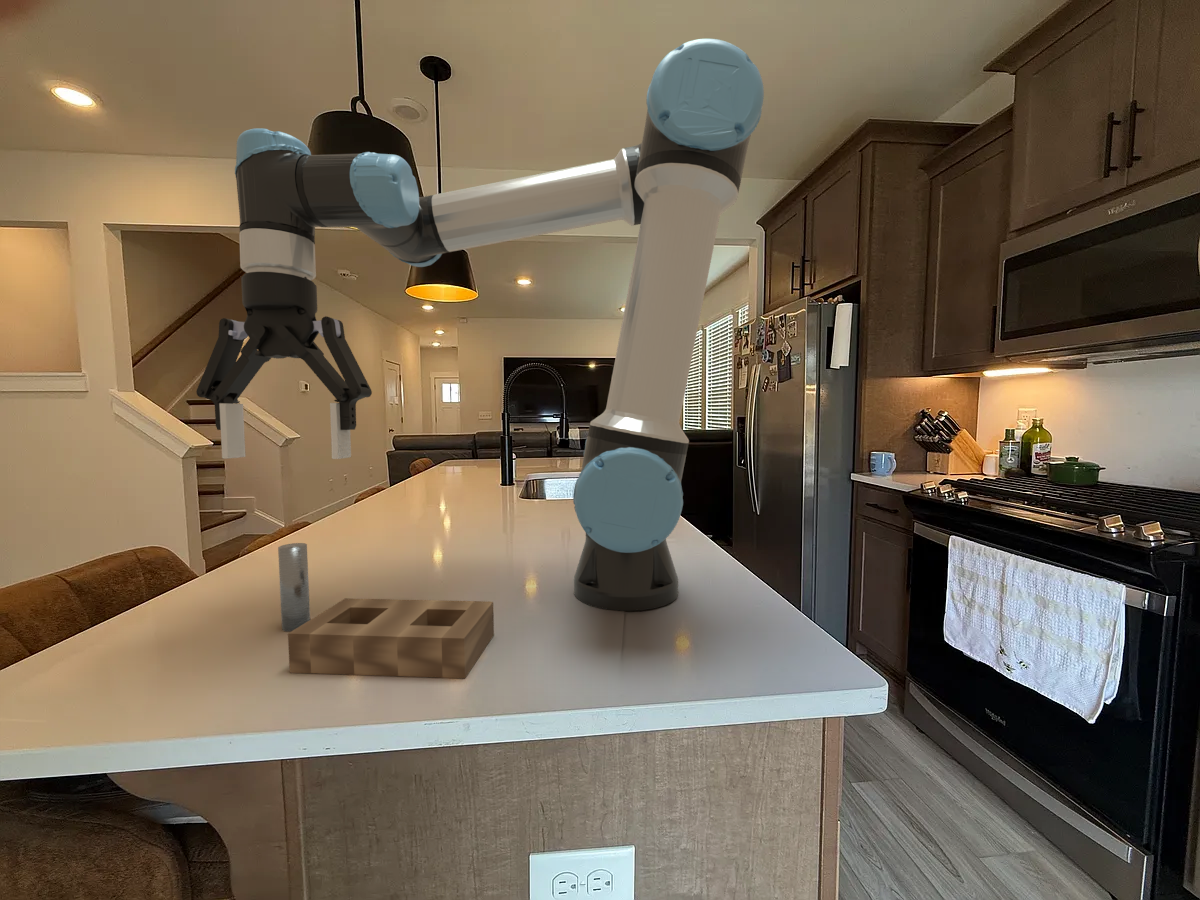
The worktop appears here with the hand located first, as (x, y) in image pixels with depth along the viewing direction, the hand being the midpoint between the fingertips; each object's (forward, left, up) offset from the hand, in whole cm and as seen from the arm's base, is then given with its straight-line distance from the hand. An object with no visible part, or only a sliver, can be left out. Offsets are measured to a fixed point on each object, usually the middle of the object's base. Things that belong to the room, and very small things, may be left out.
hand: (287, 458), depth 62 cm
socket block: (-16, +6, -21) cm, 27 cm away
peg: (0, 0, -21) cm, 21 cm away
